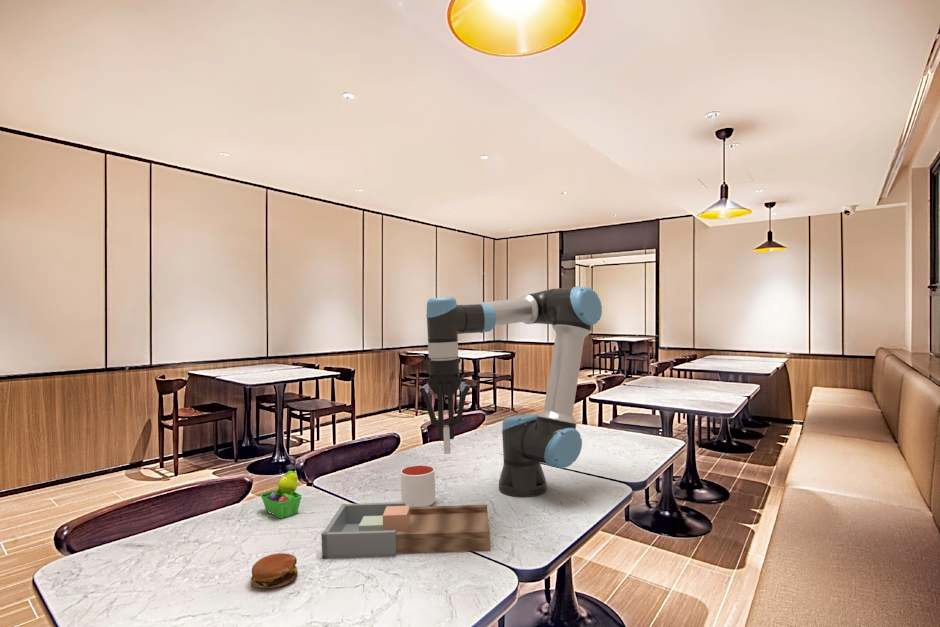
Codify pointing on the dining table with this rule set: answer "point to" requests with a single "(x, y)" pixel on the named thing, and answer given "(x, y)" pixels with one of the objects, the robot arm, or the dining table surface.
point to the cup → (418, 486)
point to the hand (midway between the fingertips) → (447, 452)
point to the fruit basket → (283, 497)
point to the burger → (274, 571)
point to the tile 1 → (371, 523)
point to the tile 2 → (396, 518)
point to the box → (358, 533)
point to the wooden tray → (445, 530)
